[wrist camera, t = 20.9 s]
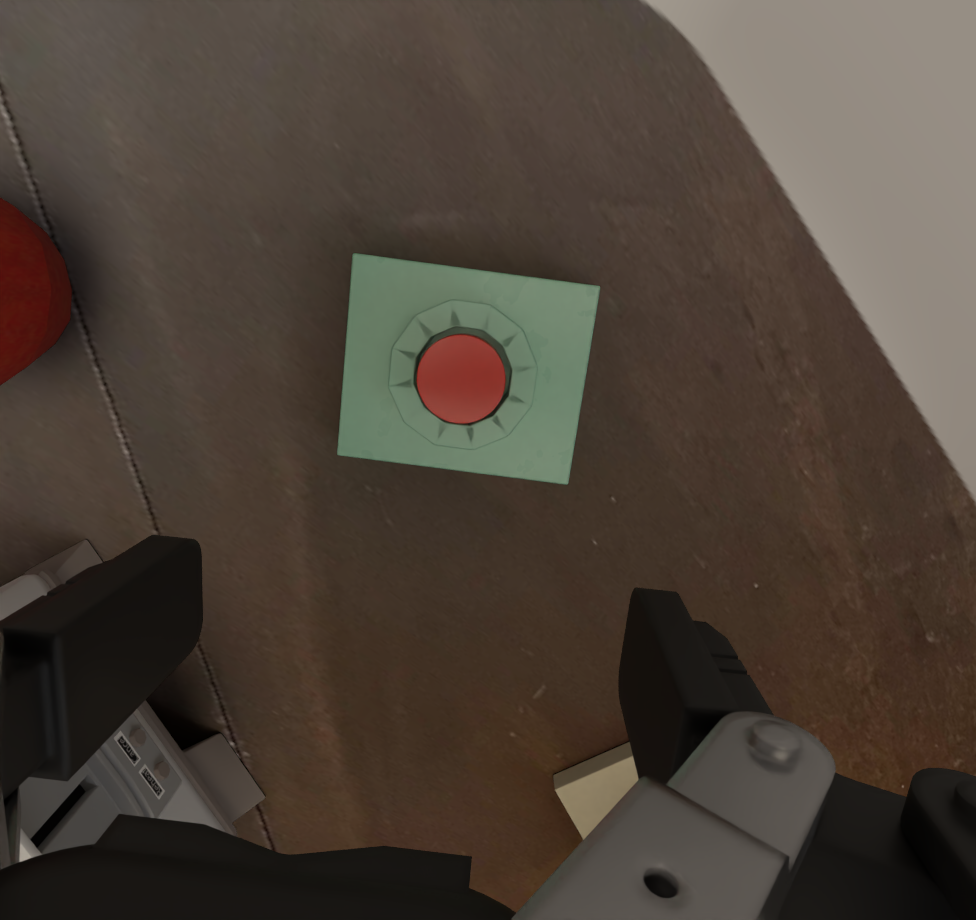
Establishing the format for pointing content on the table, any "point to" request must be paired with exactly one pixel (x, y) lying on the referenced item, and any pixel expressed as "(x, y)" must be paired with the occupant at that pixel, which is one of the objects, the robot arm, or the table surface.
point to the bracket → (596, 786)
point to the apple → (29, 292)
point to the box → (482, 312)
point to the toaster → (124, 759)
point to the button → (461, 378)
